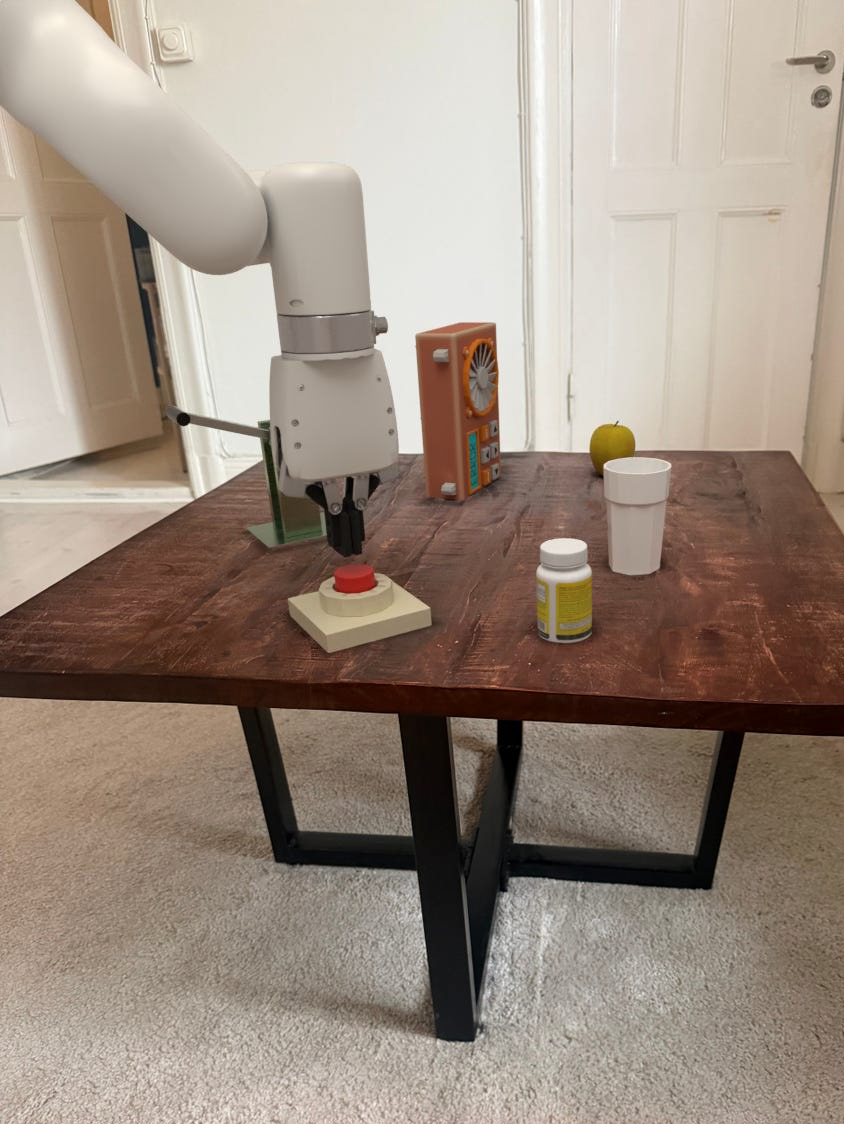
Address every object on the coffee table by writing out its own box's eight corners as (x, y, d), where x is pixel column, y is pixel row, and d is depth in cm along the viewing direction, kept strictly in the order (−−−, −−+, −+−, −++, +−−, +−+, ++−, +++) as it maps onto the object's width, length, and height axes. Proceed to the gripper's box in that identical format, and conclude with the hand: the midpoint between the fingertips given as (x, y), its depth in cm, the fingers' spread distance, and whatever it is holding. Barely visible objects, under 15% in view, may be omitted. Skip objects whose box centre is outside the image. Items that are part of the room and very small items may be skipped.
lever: (174, 429, 93) (178, 406, 92) (164, 422, 97) (167, 399, 96) (302, 454, 101) (306, 433, 100) (287, 446, 105) (291, 426, 104)
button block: (329, 658, 77) (323, 615, 75) (290, 619, 85) (284, 580, 83) (432, 629, 81) (429, 589, 79) (386, 595, 89) (382, 558, 87)
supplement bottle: (600, 631, 79) (602, 540, 76) (576, 651, 76) (576, 558, 72) (553, 621, 82) (552, 533, 78) (527, 640, 78) (525, 549, 75)
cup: (589, 566, 94) (590, 463, 89) (641, 555, 96) (645, 454, 92) (625, 586, 88) (628, 477, 84) (679, 573, 91) (685, 467, 86)
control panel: (510, 481, 126) (463, 512, 113) (465, 478, 128) (415, 507, 116) (505, 321, 117) (454, 335, 104) (457, 321, 119) (402, 335, 107)
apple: (625, 483, 122) (627, 424, 119) (582, 479, 125) (582, 422, 122) (640, 471, 127) (642, 415, 124) (598, 468, 130) (598, 413, 127)
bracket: (270, 557, 101) (251, 435, 95) (246, 536, 108) (228, 422, 102) (352, 539, 105) (339, 422, 100) (324, 521, 113) (310, 410, 107)
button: (345, 599, 79) (342, 581, 78) (330, 587, 82) (327, 569, 81) (382, 590, 81) (380, 572, 80) (366, 578, 84) (364, 561, 83)
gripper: (391, 325, 78) (404, 526, 86) (222, 340, 72) (253, 556, 79) (430, 332, 72) (441, 547, 80) (249, 349, 66) (280, 581, 73)
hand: (347, 551), depth 80 cm, fingers closed
